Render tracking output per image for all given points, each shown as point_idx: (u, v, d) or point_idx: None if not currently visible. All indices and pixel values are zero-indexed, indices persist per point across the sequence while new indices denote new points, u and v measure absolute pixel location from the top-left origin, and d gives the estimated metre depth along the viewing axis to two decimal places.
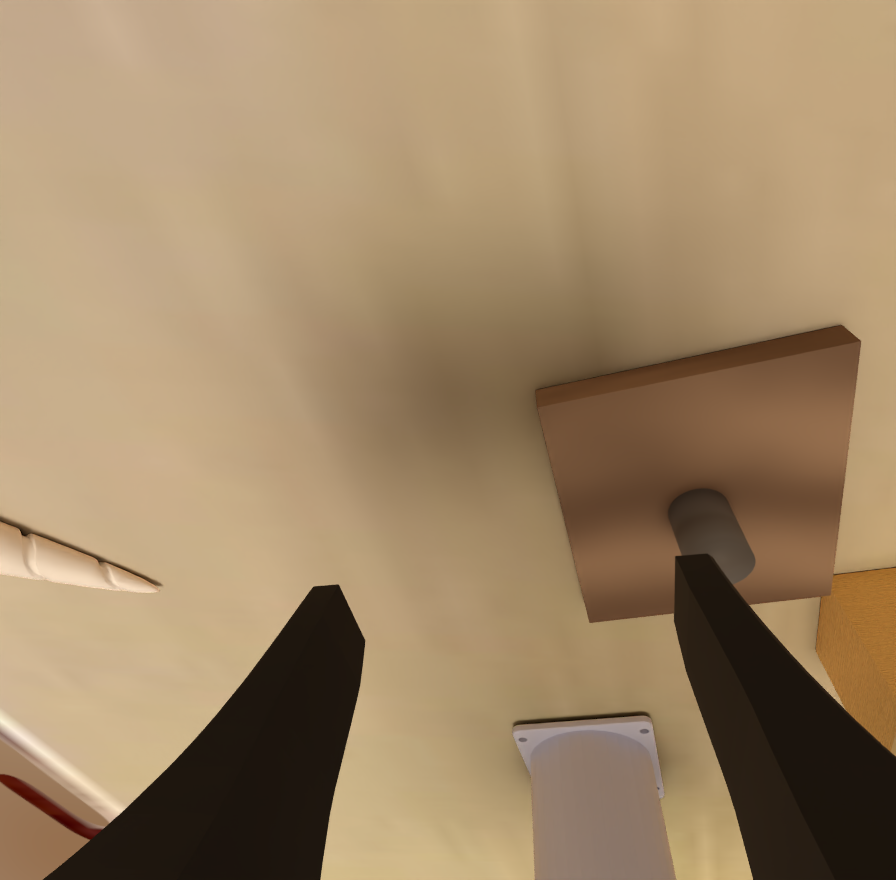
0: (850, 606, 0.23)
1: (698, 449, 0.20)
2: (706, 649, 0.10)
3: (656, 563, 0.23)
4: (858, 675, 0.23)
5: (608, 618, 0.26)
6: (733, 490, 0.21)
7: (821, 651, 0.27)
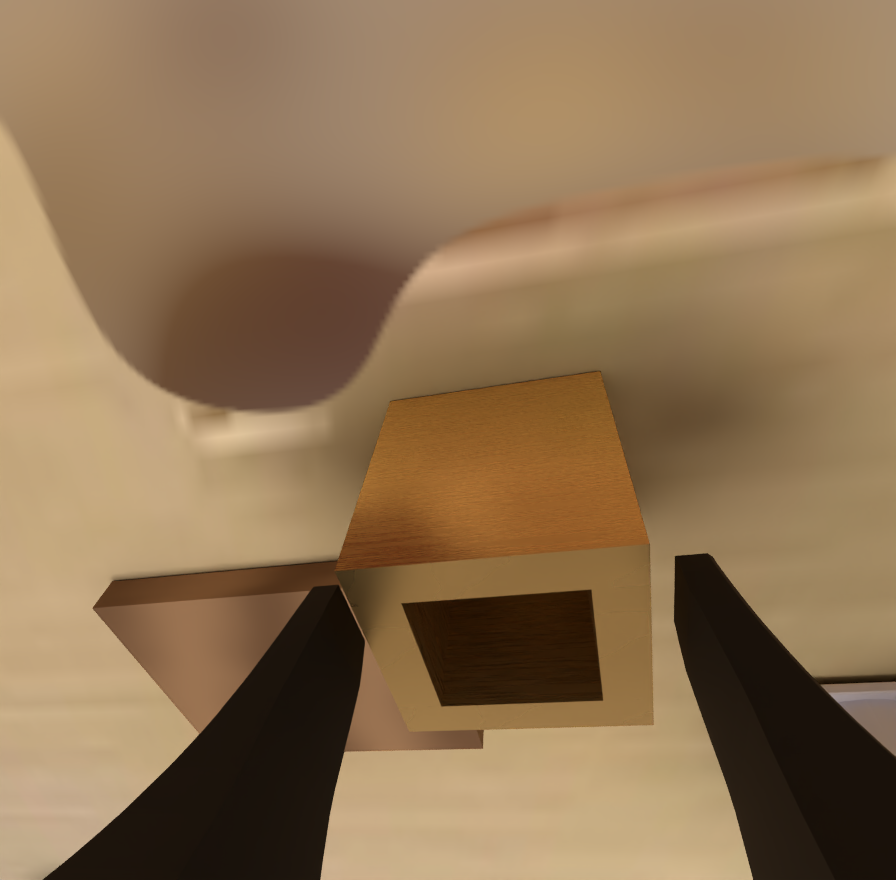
0: None
1: (230, 684, 0.22)
2: (706, 649, 0.10)
3: (381, 706, 0.22)
4: None
5: (474, 737, 0.22)
6: None
7: None
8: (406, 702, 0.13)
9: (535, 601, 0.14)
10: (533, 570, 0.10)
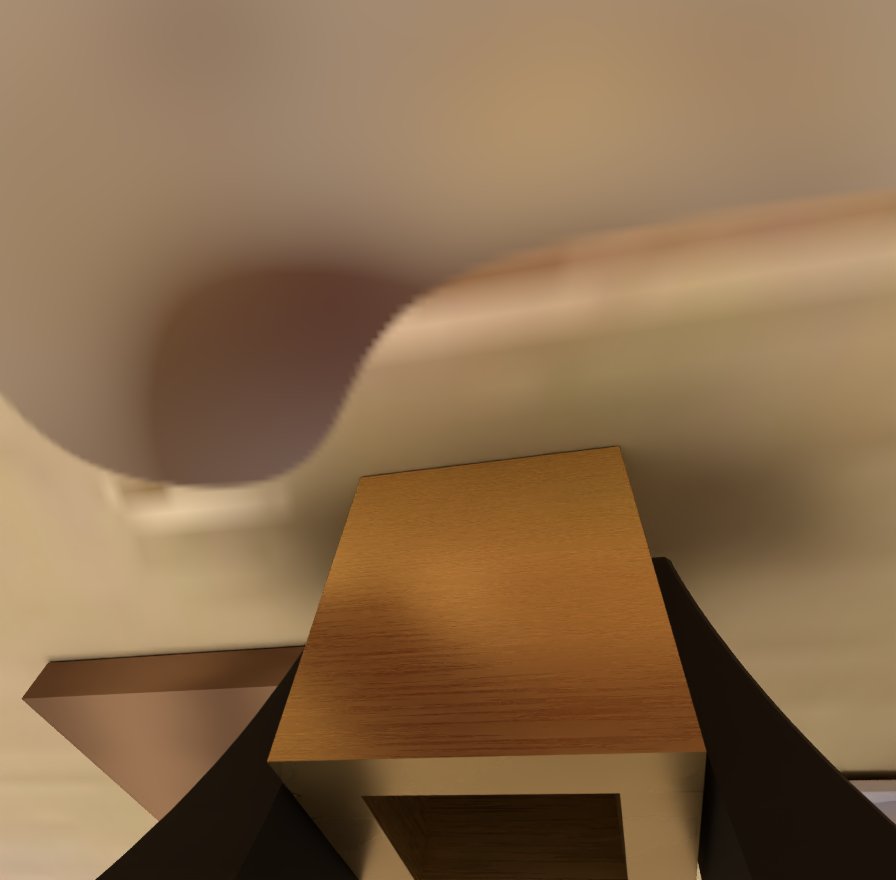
0: None
1: (187, 775, 0.19)
2: None
3: None
4: None
5: None
6: None
7: None
8: None
9: None
10: (540, 771, 0.07)
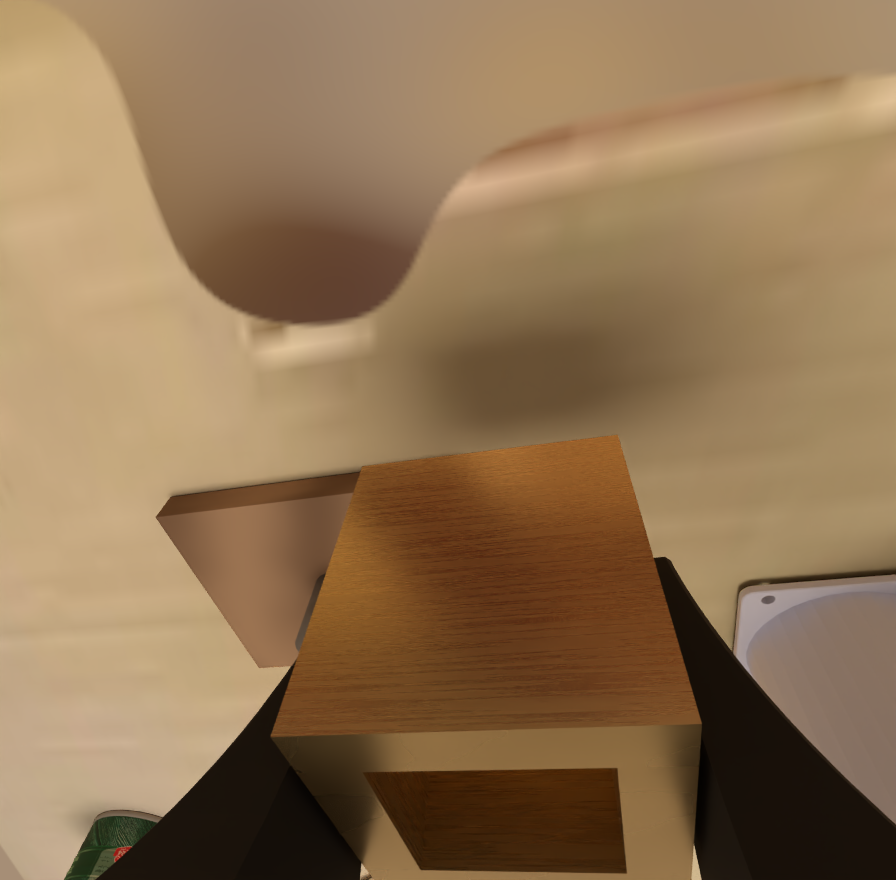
0: None
1: (275, 592, 0.24)
2: None
3: None
4: None
5: None
6: (315, 570, 0.23)
7: None
8: (376, 864, 0.10)
9: None
10: (539, 746, 0.07)
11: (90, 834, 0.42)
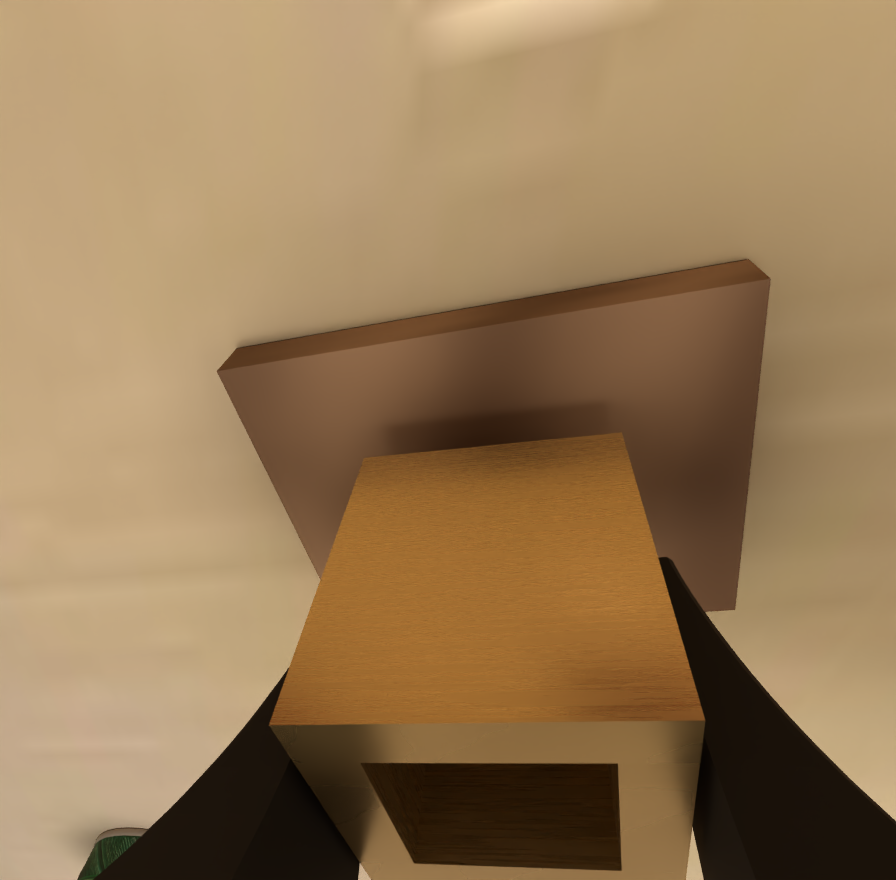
0: None
1: None
2: None
3: None
4: None
5: (730, 590, 0.16)
6: None
7: None
8: (369, 857, 0.10)
9: None
10: (540, 739, 0.07)
11: (91, 858, 0.33)
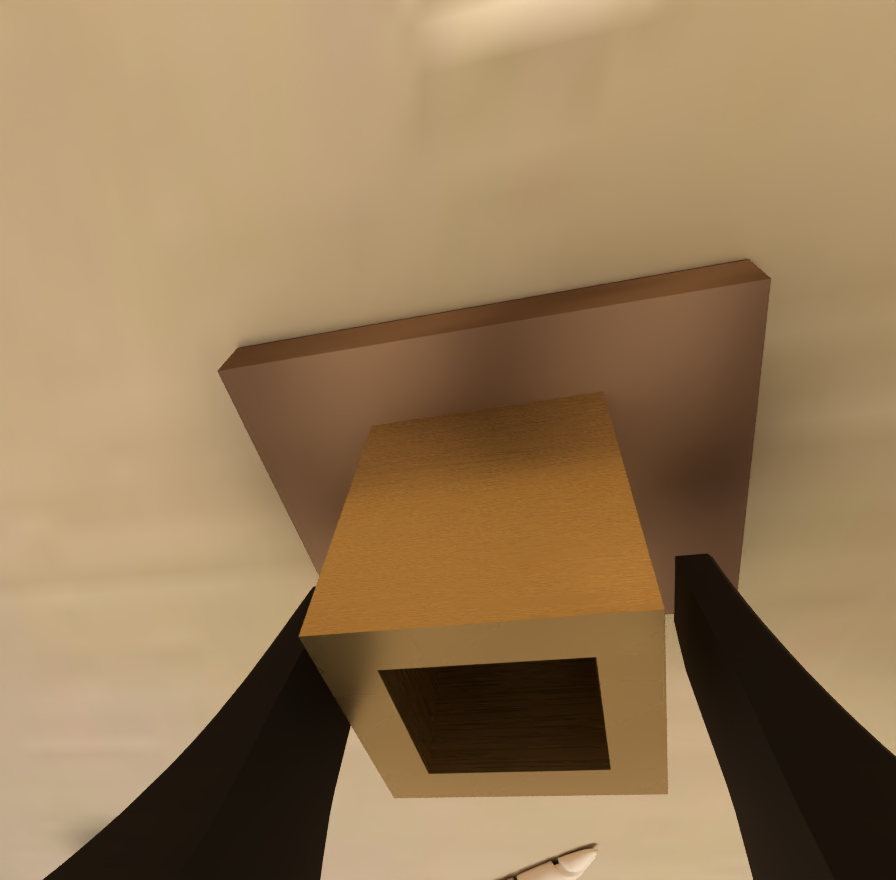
0: None
1: None
2: (707, 649, 0.10)
3: None
4: None
5: None
6: None
7: None
8: (389, 769, 0.11)
9: None
10: (528, 636, 0.08)
11: None
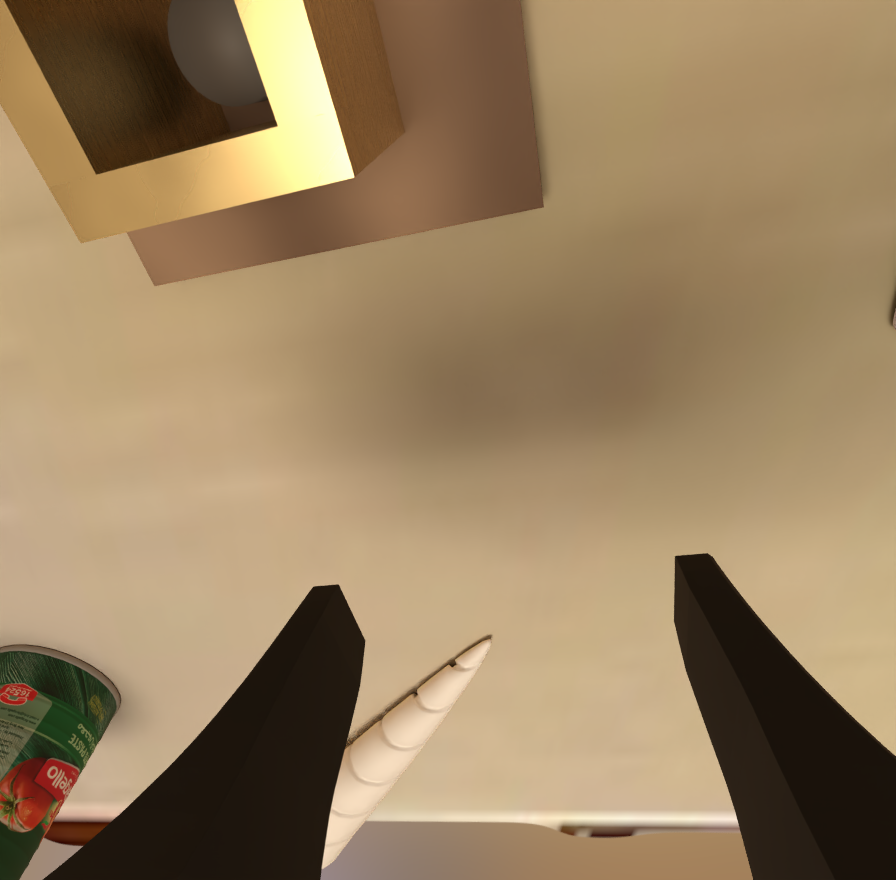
0: None
1: None
2: (707, 649, 0.10)
3: None
4: None
5: (532, 173, 0.15)
6: None
7: None
8: (52, 171, 0.10)
9: (262, 126, 0.12)
10: None
11: None
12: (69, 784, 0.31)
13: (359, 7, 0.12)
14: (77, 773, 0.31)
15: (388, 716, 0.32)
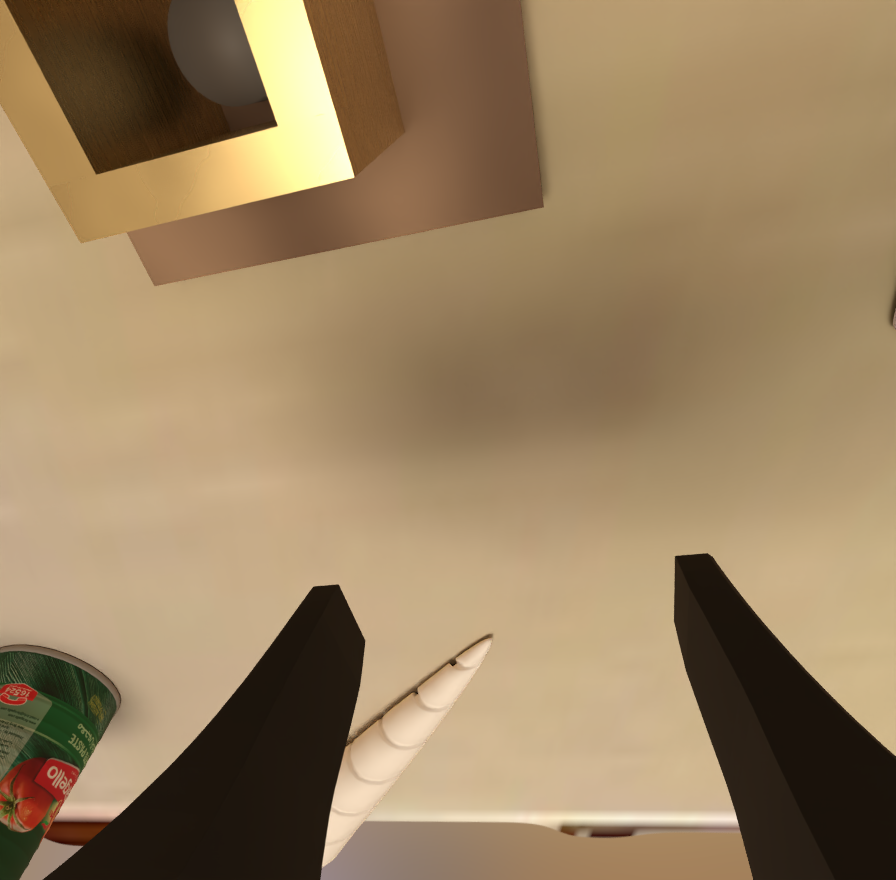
0: None
1: None
2: (707, 649, 0.10)
3: None
4: None
5: (532, 173, 0.15)
6: None
7: None
8: (52, 171, 0.10)
9: (262, 126, 0.12)
10: None
11: None
12: (69, 784, 0.31)
13: (359, 7, 0.12)
14: (77, 773, 0.31)
15: (388, 715, 0.32)
